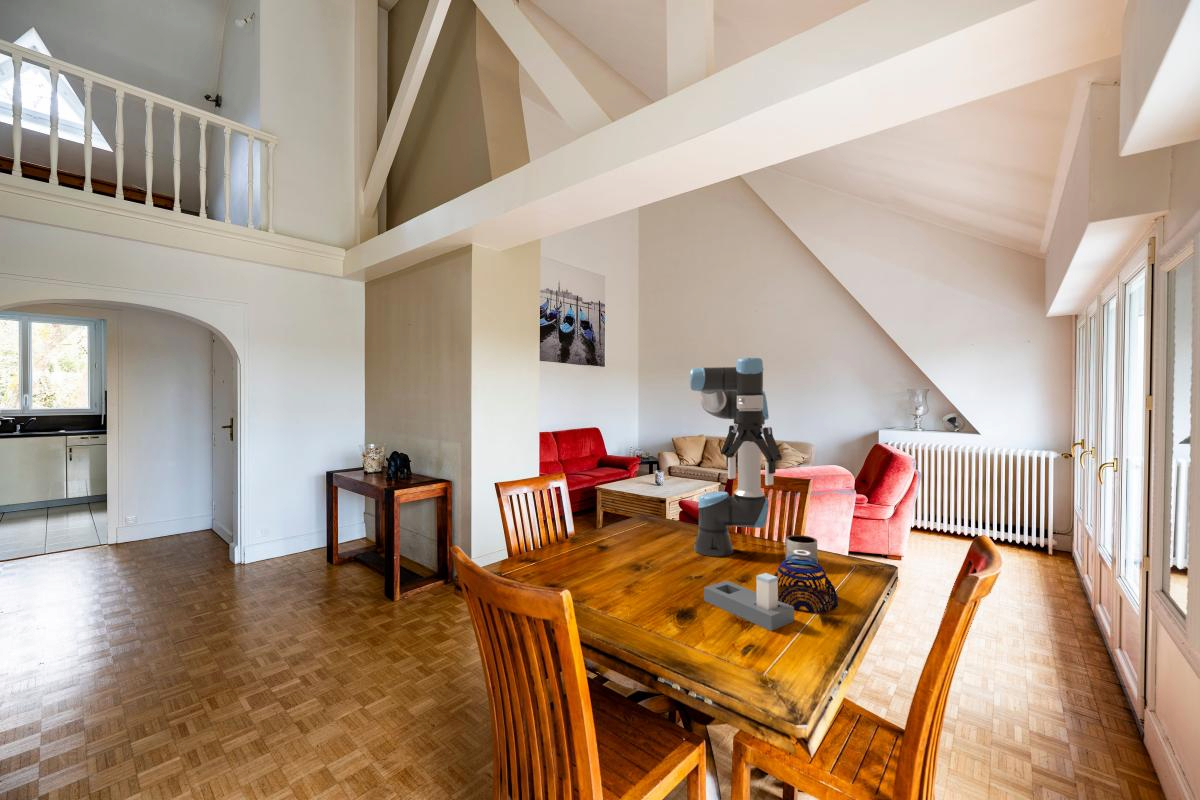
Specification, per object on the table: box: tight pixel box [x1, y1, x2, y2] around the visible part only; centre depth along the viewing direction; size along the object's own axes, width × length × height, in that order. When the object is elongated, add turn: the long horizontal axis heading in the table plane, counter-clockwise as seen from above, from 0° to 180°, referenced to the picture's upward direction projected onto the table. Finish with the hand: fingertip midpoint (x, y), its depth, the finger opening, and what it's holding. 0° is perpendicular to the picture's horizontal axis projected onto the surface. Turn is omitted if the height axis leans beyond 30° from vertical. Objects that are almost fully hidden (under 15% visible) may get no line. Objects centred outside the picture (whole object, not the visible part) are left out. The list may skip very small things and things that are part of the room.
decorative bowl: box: [773, 550, 839, 614], centre depth 152 cm, size 20×20×14 cm
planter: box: [785, 534, 819, 570], centre depth 183 cm, size 11×11×10 cm
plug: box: [755, 572, 779, 611], centre depth 138 cm, size 4×4×12 cm
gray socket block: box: [703, 580, 795, 632], centre depth 144 cm, size 10×24×4 cm, turn 35°
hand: (749, 481), depth 148 cm, fingers open, 13 cm apart
